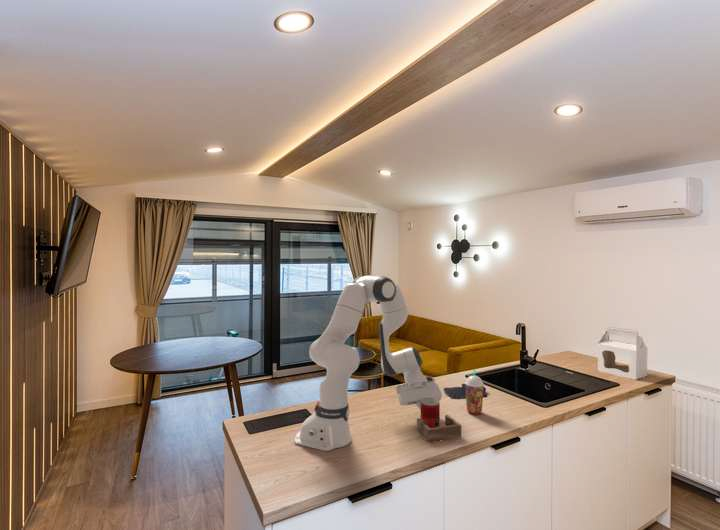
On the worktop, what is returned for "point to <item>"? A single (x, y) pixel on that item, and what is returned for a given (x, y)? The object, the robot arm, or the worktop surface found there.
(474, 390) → the smoothie
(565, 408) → the worktop surface
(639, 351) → the gable box
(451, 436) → the holder
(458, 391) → the dark slate chunk
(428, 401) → the canned food
